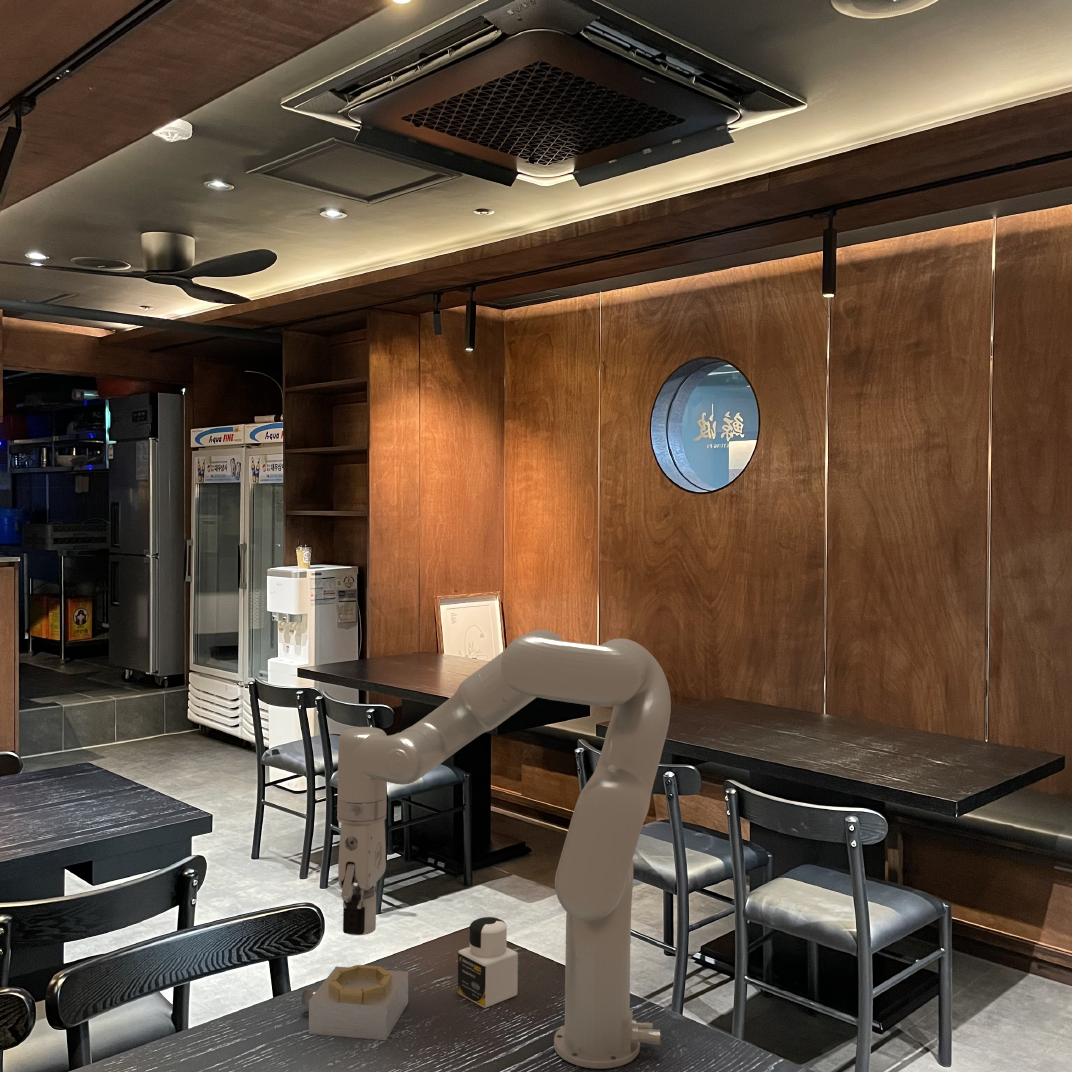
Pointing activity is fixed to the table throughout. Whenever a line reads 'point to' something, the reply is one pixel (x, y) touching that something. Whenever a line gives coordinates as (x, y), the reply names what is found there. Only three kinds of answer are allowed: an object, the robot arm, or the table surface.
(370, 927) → the short grey cylinder
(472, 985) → the medicine bottle
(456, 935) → the table surface
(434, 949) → the table surface
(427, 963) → the table surface
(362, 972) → the block
